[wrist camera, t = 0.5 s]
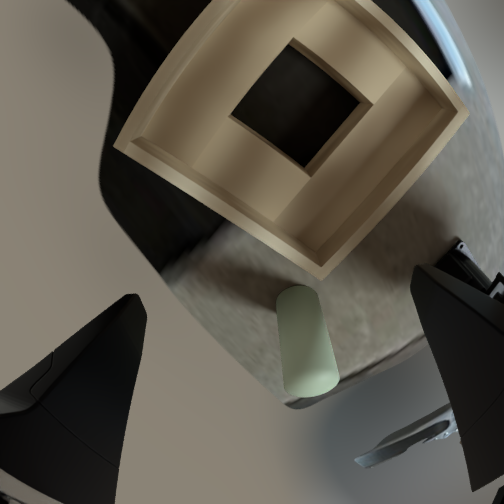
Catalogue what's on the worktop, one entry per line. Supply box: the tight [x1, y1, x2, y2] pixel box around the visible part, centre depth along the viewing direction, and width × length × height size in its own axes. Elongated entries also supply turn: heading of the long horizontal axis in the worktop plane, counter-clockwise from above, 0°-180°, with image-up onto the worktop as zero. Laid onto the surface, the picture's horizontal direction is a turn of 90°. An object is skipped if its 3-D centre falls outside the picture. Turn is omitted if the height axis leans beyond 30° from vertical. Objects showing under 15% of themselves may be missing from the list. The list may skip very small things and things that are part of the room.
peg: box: [276, 285, 339, 397], centre depth 23 cm, size 4×4×9 cm
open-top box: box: [113, 0, 470, 281], centre depth 16 cm, size 16×16×4 cm
